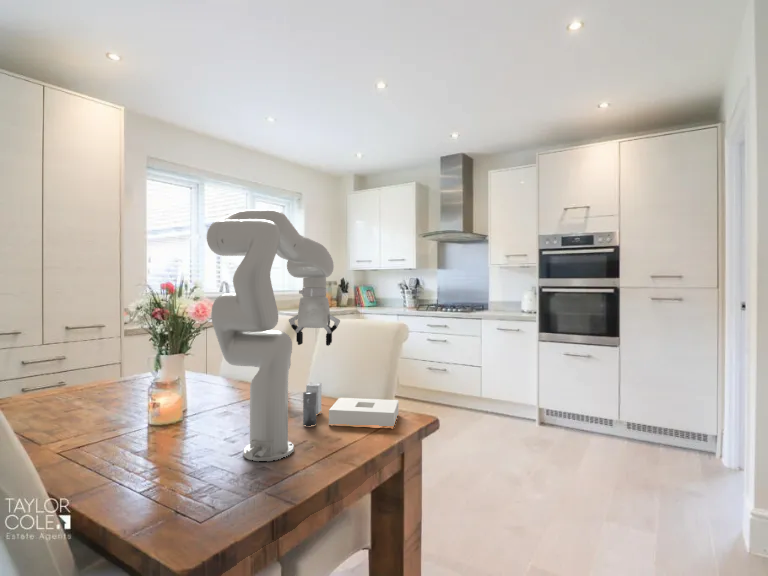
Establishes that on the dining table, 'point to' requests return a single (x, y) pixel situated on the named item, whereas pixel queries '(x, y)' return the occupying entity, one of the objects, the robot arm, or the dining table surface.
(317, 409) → the square peg
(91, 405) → the dining table surface
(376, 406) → the block
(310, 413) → the round peg
